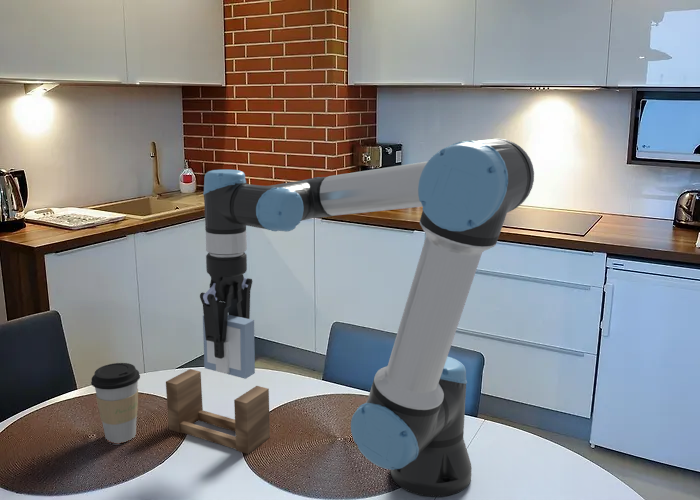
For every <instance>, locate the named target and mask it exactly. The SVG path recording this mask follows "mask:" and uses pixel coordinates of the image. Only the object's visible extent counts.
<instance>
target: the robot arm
mask: <svg viewBox="0 0 700 500" xmlns="http://www.w3.org/2000/svg"><path fill="white" fill-rule="evenodd" d="M534 182H535V170H534V165H533V162H532V160H531V158H530V156H529V154H528V153H527V152H526V151H525V150H524V149H523V147H521V146H520V145H518V144H517V143H515V142H514V141H510V140H508V139H505V138H488V139H482V140H481V139H480V140H464V141H458V142H455V143H453V144H451V145H448V146H446V147H444V148H442V149H440V150H439V151H437V152H436V153H435V154H433V155H432V156H431V157H430V158H429V160H428V161H422V162H421V161H420V162H415V163H407V164H402V165H401V164H400V165H394V166H387V167H382V168H375V169H369V170H368V169H367V170H362V171H360V170H359V171H355V172H350V173H347V172H346V173H341V174H334V175H329V176H321V177H320V176H317V177H311V178H307V179H303V180H297V181H289V182H284V183H277V184H271V185H259V184H250V183H247V180H246V174H245V172H244V171H241V170H240V169H239V170H238V169H212V170H208V171H207V172H206V173H205V175H204V182H203V183H204V184H203V193H202V195H203V201H204V202H203V203H204V218H205V219H204V224H205V226H204V227H205V228H204V229H205V251H206V252H207V254H206V255H205V260H206V262H205V264H206V265H205V266H206V267H205V268H206V273H207V274H208V275H209V276H210V283H209V289H208V290H207V291H206V292H204V291H203V292H200V294H199V299H200V301H201V304H202V311H203V312H202V314H203V315H204V325H205V337H206V340H207V341H212V342H214V352H215V353H214V355H215V357H216V371H215V372H217V371H218V372H217V373H221V372H222V374H226V375H229V374H228V373H230V369H229V341H226V332H227V319H228V315H232V316H237V317H242V318H247V319H251V318H250V316H251V315H250V314H251V312H250V311H251V310H250V309H251V290H252V285H253V279H252V278H250V277H249V278H247V277H244V274H245V273H246V272H247V270H248V264H247V263H248V262H247V261H248V259H247V258H248V257H247V253H246V251H247V249H248V245H247V240H248V239H247V226H248V227H253V228H257V229H263V230H268V231H271V232H291V231H293V230H295V229H296V227H297V226H298V225H299V224H300V223H301V221H306V220H307V221H308V220H312V219H317V218H327V217H333V216H342V215H352V214H361V213H362V214H363V213H370V212H371V213H373V212H381V211H383V212H384V211H391V210H402V209H411V208H421V207H422V212H421V215H420V218H419V225H420V227H421V229H422V230H423V231H424V233H425V238H424V242H423V246H422V249H421V252H420V256H419V258H418V262H417V266H416V269H415V273H414V275H413V279H412V282H411V285H410V289H409V293H408V296H407V298H406V299H407V300H406V303H405V305H404V309H403V312H402V316H401V319H400V323H399V326H398V328H397V333H396V336H395V340H394V342H393V346H392V350H391V353H390V356H389V360H388V364H387V366H384V367H382V368H379V369H378V370H377V372H376V373H375V375H374V377H373V381H372V384H371V388H370V391H369V394H368V396H367V400H366V401H365V403H362V404H360V405H359V406H358V407H356V411H355V412H354V413H353V415H351V416H352V417H351V420H350V431H351V436H352V438H353V441H354V443H355V444H356V445H357V449H358V451H359V452H360V453H361V454H362V456H364V457H365V458H366V459H367V460H368V461H369V462H371V463H372V464H373V465H374V466H377V467H379V468H381V469H386V470H390V476H391V479H392V480H393V481H394V482H395V483H396V484H397V486H399V487H400V488H402V489H404V490H406V491H408V492H410V493H413V494H415V495H416V494H417V495H419V496H424V497H448V496H450V495H455V494H457V493H460V492H462V491H464V490H465V489H466V488H467V487H468V486H469V484H470V483H471V481H472V480H471V479H472V462H471V459H470V456H469V453H468V449H467V446H466V442H465V440H464V430H465V413H466V411H465V410H466V397H467V395H466V394H467V384H468V381H467V369H466V367H465V365H464V364H463V363H462V362H461V361H460V360H458V359H456V358H454V357H451V356H449V353H450V351H451V347H452V345H453V340H454V338H455V336H456V332H457V329H458V326H459V322H460V320H461V318H462V315H463V311H464V307H465V305H466V302H467V299H468V296H469V293H470V290H471V287H472V284H473V281H474V278H475V274H476V273H477V269H478V268H479V267H478V266H479V263H480V261H481V257H482V254H483V253H484V252H485V251H487V250H490V249H491V248H492V249H493V248H494V247H495V246H497V243H498V240H499V236H500V234H501V231H502V228H503V225H504V224H505V220H506V216H507V214H508V213H509V212H512V211H513V210H516V209H517V208H519V206H521V205H522V204H523V203H524V202H525V201H526V200H527V198H528V196H530V194H531V191H532V189H533V185H534Z"/></svg>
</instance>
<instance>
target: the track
mask: <svg viewBox="0 0 700 500" xmlns="http://www.w3.org/2000/svg"><path fill="white" fill-rule="evenodd" d="M201 373H202V371H199V370H196V369H191V368H189V369H187V370H185V371H184V372H181V373H180V374H178V375H176V376H174V377H172V378H170V379H168V380H166V381H165V390H166V405H167V406H166V407H167V421H168V422H167V423H168V430H169V431H172V432H173V431H174V432H176V433H182V434H184V435H185V434H186V435H189V436H193V437H195V438H198V439H200V440H201V439H202V440H205V441H208V442H211V443H215V444H218V445H220V446H221V445H222V446H224V447H228V448H231V449H235V451H237V452H239V453H244V454H247V455H249V454H250V453H252V452H253V451H255V450H256V449H257V448H258V447H259V446H261V445H262V444H264V443H265V442H266V441H267V440H269V439H270V438H271V427H270V426H271V423H270V421H271V420H270V391H269V390H270V388H267V387H264V386H260V385H255V386H254V387H253V388H251V389H250V390H247V391H246V392H245V393H243V394H241V395H240V396H238V397H237V398H235V399H234V400H233V401H234V418H231V417H228V416H223V415H220V414H216V413H213V412H210V411H206V410H203V394H202V393H203V391H202V389H203V388H202V374H201ZM197 422H202V423H205V424H209V425H211V426H212V425H213V426H215V427H218V428H222V429H225V430H228V431H231V432H232V431H233V432H235V435H232V434H228V433H225V432H222V431H218V430H215V429H213V428H212V429H211V428H208V427H205V426H202V425H198V424H195V423H197ZM269 437H270V438H269ZM268 438H269V439H268Z"/></svg>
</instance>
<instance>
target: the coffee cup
mask: <svg viewBox="0 0 700 500" xmlns="http://www.w3.org/2000/svg"><path fill="white" fill-rule="evenodd" d="M140 378H141V375H140V372H139V370H138V369H137V368H136V366H135V365H134V364H131V363H127V362H116V363H115V362H114V363H109V364H105V365H102V366H100V367H98V368H97V369H95V371H94V375H92V377H91V381H90V383H91V386H92V387H94V390H95V398H96V402H97V407H98V412H99V418H100V421H101V422H102V427H103V432H104V436H105V440H106V439H107V440H109V441H111V442H114V443H121V442H126V441H128V440H131V439H132V438H134V437H135V438H136V436H137V416H138V410H139V409H138V406H139V405H138V403H139V401H138V400H139V388H138V386H139V385H138V383H139V382H138V381H139V380H140ZM135 435H136V436H135ZM135 438H134V439H135ZM132 440H133V439H132ZM132 440H131V441H132Z"/></svg>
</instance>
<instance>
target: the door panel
mask: <svg viewBox="0 0 700 500" xmlns="http://www.w3.org/2000/svg"><path fill="white" fill-rule="evenodd" d="M202 332H203V333H202V334H203V337H202V338H203V360H204V361H203V367H204V369H207V370H211V371H213V372H214V371H215V372H217V373H219V372H218V371H216V357H215V355H214V353H215V352H214V342H212V341H207V340H206V337H205V325H204V314H203V315H202ZM226 341H229V369H230V373H228V374H227V375H231V376H233V377H236V378H237V377H238V378H241V379H243V380H244V379H245V380H246V379H249V377H251V376H253V375H254V374H256V365H255V364H256V362H255V359H256V358H255V357H256V355H255V350H256V349H255V319H251V318H250V319H247V318H242V317H237V316H232V315H229V314H228V319H227V332H226ZM220 373H222V372H220ZM222 374H223V373H222Z"/></svg>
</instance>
